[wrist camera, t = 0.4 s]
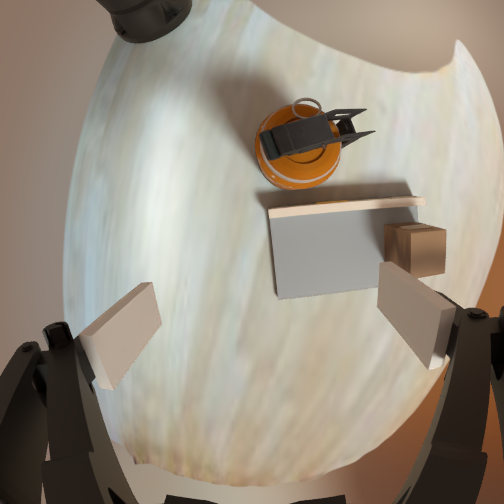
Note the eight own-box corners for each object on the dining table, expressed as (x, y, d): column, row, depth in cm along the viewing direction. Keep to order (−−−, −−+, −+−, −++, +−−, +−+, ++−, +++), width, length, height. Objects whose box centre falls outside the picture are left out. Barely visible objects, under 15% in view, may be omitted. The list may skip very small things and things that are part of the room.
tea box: (383, 223, 39) (410, 232, 30) (415, 220, 38) (446, 228, 29) (384, 262, 40) (410, 279, 31) (415, 258, 39) (444, 273, 31)
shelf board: (268, 206, 40) (268, 208, 37) (413, 195, 38) (425, 196, 35) (277, 297, 43) (278, 307, 39) (413, 278, 41) (424, 285, 37)
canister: (250, 141, 39) (234, 97, 19) (320, 120, 37) (360, 66, 18) (270, 197, 40) (273, 202, 21) (340, 175, 39) (399, 164, 19)
